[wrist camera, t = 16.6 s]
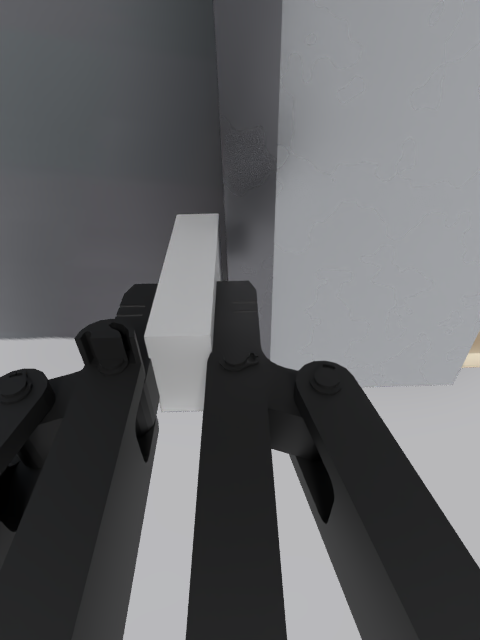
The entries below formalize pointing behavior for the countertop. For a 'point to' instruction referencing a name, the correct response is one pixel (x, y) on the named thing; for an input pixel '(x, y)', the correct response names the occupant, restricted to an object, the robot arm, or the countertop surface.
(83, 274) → the countertop surface
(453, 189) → the lid
